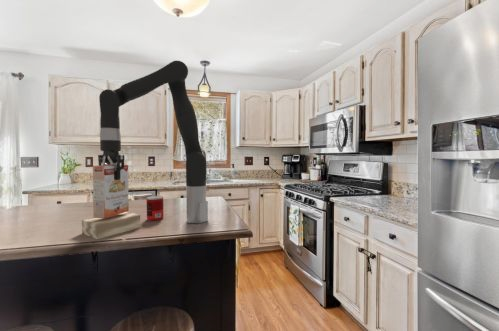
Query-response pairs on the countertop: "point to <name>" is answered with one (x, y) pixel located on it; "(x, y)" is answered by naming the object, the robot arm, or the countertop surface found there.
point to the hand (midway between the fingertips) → (111, 179)
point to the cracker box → (109, 191)
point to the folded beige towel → (110, 225)
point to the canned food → (154, 208)
